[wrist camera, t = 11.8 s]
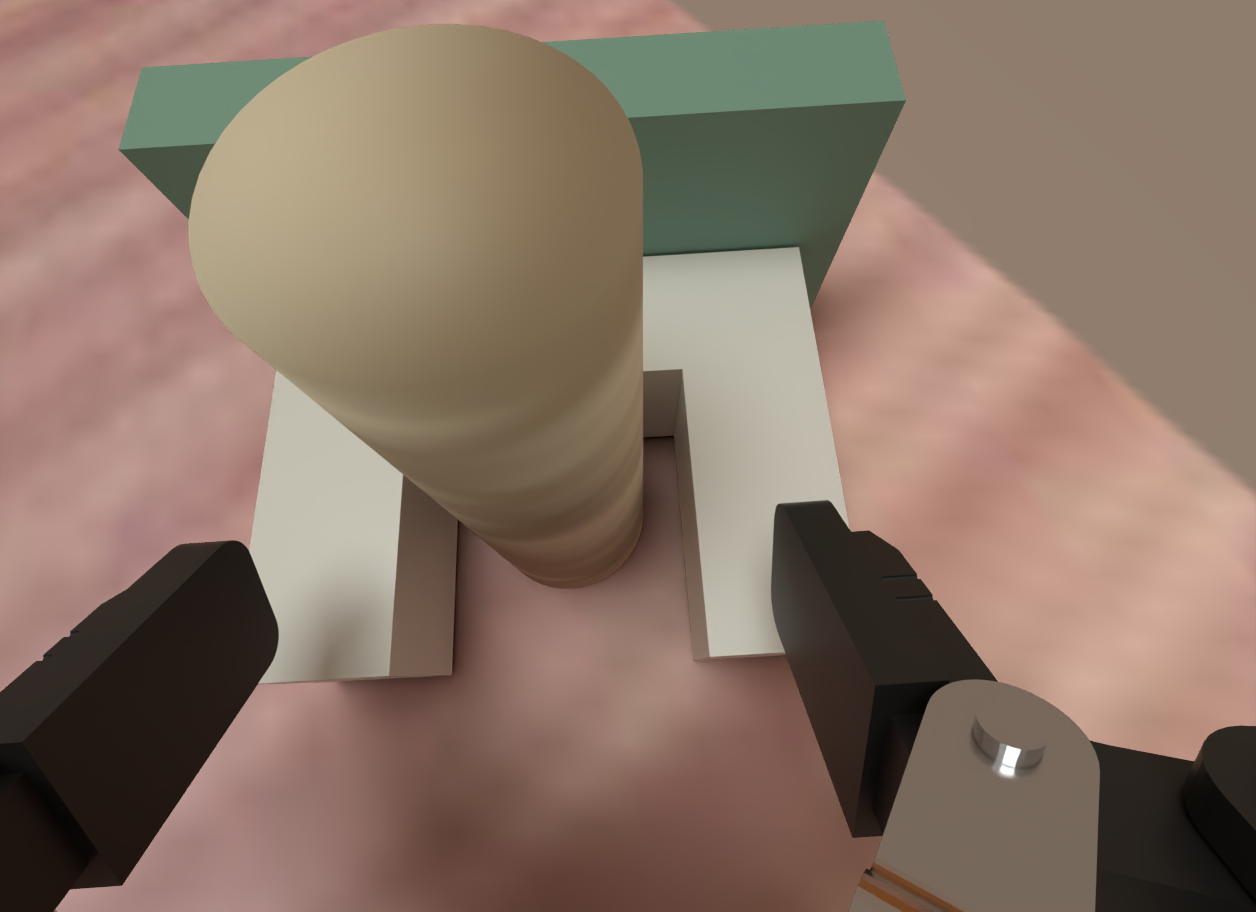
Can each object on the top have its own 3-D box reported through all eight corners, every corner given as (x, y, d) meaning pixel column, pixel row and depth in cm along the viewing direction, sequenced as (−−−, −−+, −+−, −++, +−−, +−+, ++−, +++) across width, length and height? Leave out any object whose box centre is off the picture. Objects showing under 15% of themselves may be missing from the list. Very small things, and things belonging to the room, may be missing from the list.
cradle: (814, 653, 15) (870, 647, 11) (331, 682, 15) (228, 684, 11) (766, 335, 18) (798, 247, 14) (363, 359, 18) (290, 278, 14)
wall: (798, 334, 18) (905, 100, 11) (333, 363, 18) (118, 149, 11) (788, 278, 19) (883, 21, 12) (339, 306, 19) (142, 68, 12)
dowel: (479, 571, 16) (105, 341, 5) (519, 433, 18) (292, 1, 6) (626, 602, 16) (585, 432, 5) (656, 459, 17) (680, 51, 6)
